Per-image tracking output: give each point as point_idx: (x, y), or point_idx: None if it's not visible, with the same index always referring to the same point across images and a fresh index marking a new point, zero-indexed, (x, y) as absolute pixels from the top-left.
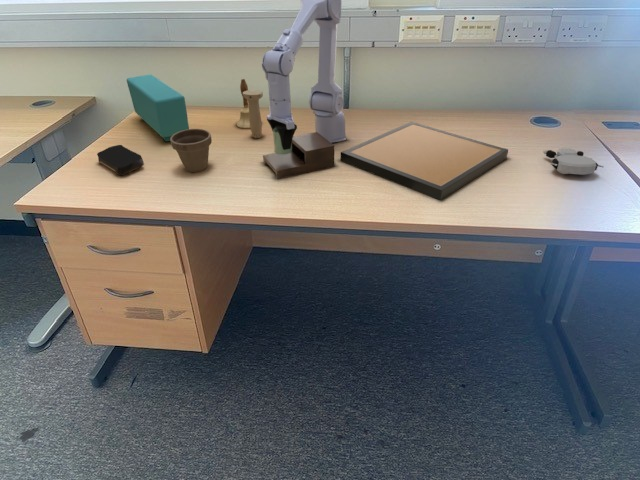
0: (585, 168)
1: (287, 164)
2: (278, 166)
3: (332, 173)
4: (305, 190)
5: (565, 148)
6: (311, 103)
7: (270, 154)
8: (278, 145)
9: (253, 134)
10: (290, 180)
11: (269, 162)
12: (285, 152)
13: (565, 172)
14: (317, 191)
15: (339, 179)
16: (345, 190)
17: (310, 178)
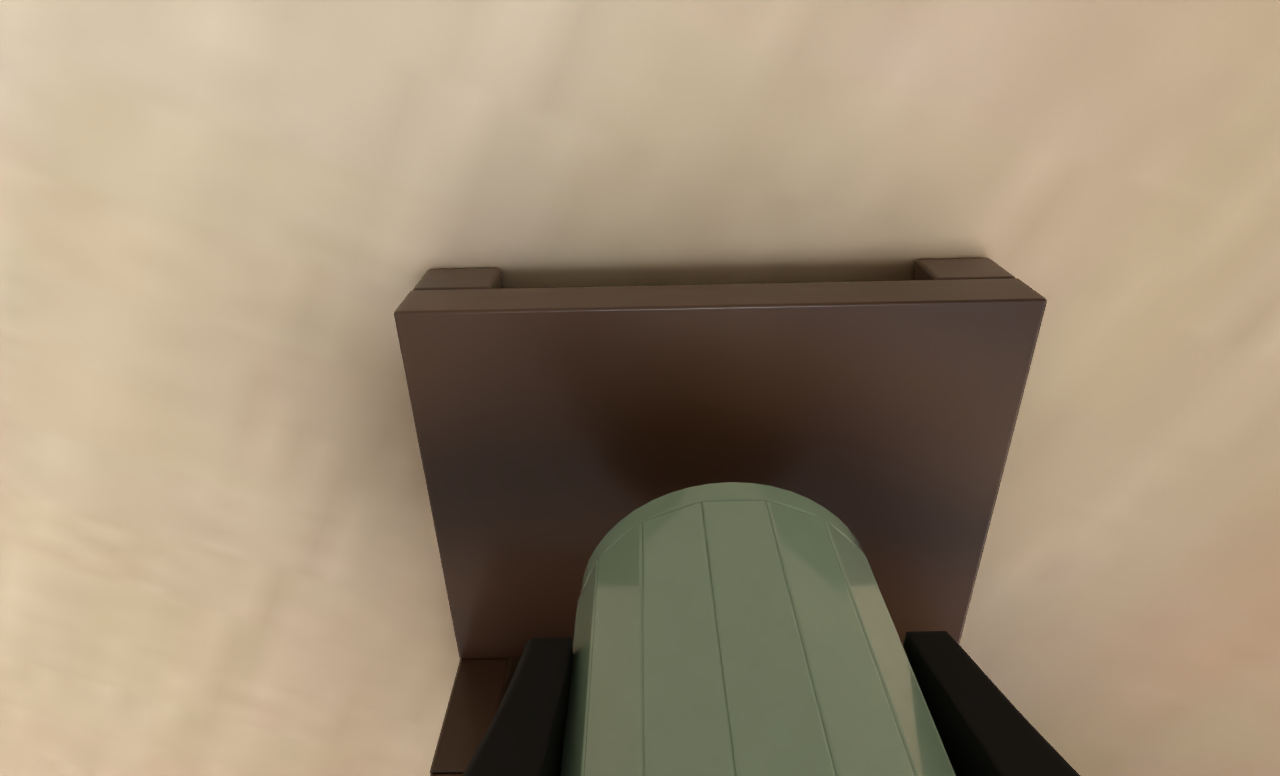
0: None
1: (554, 496)
2: (540, 379)
3: (383, 742)
4: (56, 447)
5: None
6: None
7: (997, 408)
8: (624, 638)
9: None
10: (345, 391)
11: (735, 308)
12: (578, 613)
13: None
14: (20, 535)
15: (247, 746)
16: (20, 716)
17: (335, 573)
